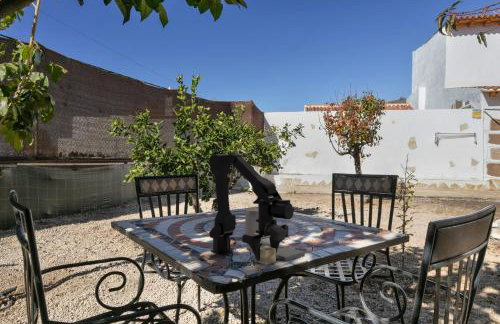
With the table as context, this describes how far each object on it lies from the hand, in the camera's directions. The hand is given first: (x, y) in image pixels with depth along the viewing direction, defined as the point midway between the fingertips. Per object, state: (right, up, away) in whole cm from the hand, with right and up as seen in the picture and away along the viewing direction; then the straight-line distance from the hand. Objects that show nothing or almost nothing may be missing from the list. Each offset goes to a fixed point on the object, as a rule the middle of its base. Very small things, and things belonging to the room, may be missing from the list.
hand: (266, 258), depth 132 cm
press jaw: (0, +1, +17) cm, 17 cm away
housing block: (0, -1, 0) cm, 1 cm away
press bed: (+4, -1, +12) cm, 13 cm away
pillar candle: (-3, 0, +38) cm, 39 cm away
